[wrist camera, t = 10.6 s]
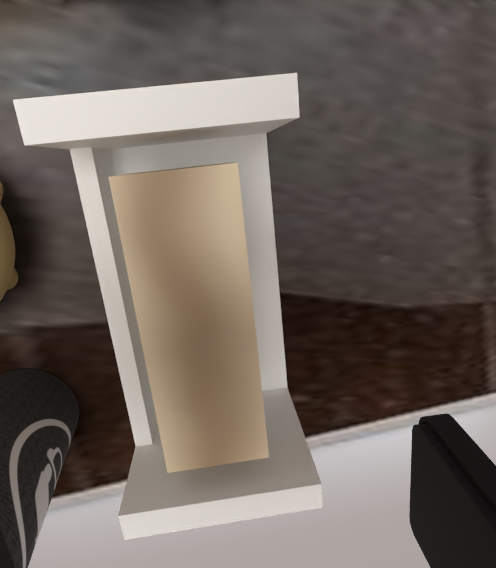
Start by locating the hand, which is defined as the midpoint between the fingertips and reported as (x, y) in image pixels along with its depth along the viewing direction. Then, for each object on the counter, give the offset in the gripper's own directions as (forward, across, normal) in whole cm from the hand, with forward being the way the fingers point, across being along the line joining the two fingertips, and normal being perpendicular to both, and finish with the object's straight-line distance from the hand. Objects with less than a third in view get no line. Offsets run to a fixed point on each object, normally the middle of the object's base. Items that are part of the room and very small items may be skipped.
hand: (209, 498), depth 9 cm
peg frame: (+19, +1, +1) cm, 19 cm away
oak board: (+13, +1, 0) cm, 13 cm away
